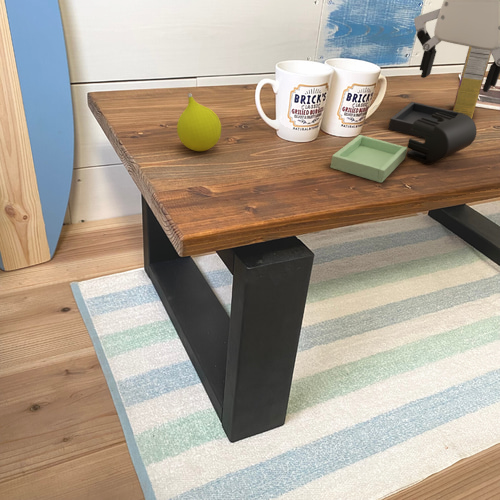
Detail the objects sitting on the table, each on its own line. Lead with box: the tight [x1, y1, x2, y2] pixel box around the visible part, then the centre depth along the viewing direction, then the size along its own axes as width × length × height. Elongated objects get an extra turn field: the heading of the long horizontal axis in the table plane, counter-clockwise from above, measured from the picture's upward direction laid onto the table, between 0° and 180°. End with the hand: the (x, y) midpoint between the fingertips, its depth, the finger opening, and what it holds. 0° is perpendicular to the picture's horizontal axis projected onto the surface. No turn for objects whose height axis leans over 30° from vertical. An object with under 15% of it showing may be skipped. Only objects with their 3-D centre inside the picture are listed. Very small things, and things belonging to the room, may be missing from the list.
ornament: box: [176, 92, 222, 152], centre depth 81 cm, size 7×7×10 cm
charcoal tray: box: [387, 101, 463, 139], centre depth 100 cm, size 11×14×2 cm
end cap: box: [406, 112, 478, 165], centre depth 86 cm, size 10×7×7 cm
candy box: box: [452, 46, 492, 120], centre depth 104 cm, size 9×4×15 cm, turn 158°
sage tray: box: [329, 134, 408, 184], centre depth 83 cm, size 9×12×2 cm
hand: (455, 82), depth 81 cm, fingers open, 9 cm apart
